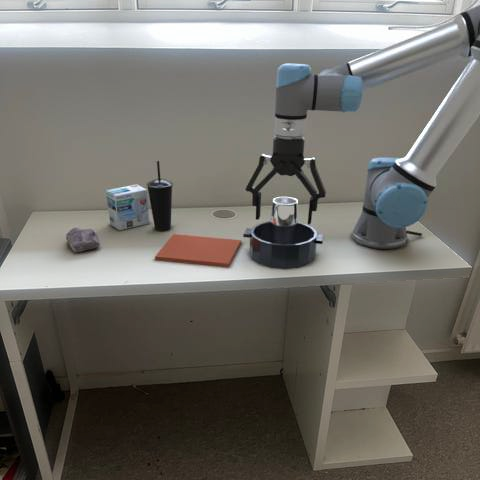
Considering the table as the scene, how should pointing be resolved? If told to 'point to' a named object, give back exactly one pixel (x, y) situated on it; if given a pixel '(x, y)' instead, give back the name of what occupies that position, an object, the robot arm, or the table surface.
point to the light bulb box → (128, 207)
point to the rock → (82, 239)
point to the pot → (283, 246)
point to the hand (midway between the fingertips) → (283, 220)
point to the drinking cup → (160, 201)
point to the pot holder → (199, 250)
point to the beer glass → (284, 219)
